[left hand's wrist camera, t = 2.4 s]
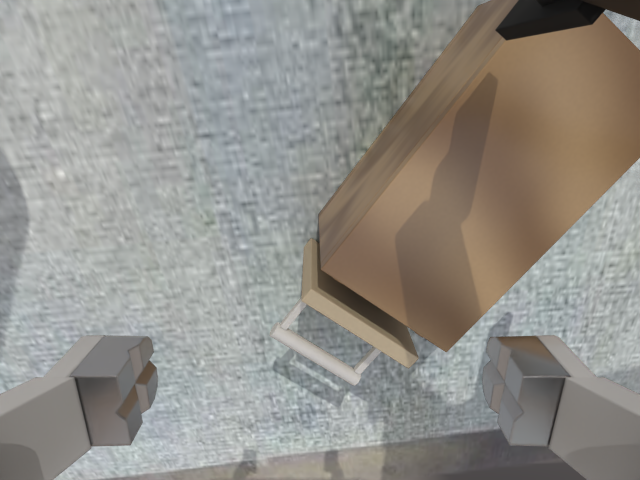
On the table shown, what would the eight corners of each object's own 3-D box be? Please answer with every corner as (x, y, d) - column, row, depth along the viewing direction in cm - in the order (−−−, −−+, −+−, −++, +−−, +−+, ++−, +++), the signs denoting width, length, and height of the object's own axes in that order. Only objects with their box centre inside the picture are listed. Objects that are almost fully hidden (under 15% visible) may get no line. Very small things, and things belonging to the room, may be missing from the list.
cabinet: (410, 278, 41) (446, 352, 30) (318, 214, 39) (320, 269, 28) (574, 95, 35) (693, 104, 24) (478, 5, 33) (562, -30, 22)
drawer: (352, 342, 43) (363, 416, 33) (269, 291, 40) (257, 355, 31) (537, 135, 36) (616, 156, 26) (449, 58, 33) (502, 52, 24)
